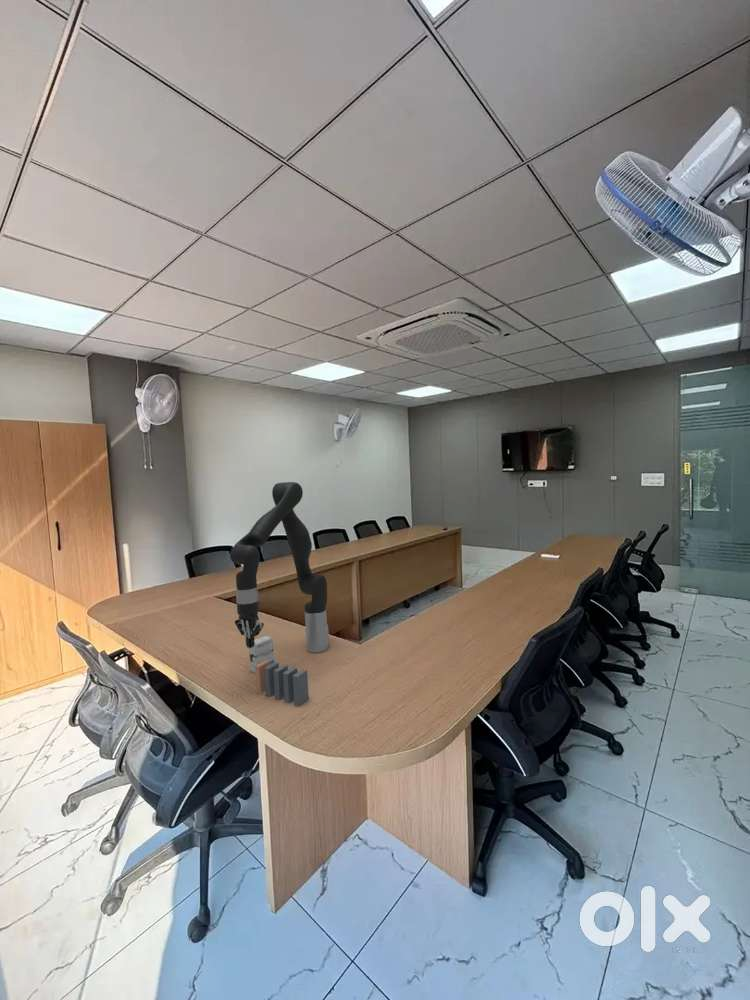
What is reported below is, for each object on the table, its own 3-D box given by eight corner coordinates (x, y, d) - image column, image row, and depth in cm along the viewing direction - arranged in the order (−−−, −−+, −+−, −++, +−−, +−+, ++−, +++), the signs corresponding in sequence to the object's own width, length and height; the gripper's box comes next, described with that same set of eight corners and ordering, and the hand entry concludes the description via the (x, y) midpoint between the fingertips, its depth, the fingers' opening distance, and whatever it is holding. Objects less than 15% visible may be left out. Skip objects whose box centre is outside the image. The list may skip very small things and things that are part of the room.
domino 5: (294, 704, 136) (292, 675, 135) (304, 697, 140) (302, 669, 140) (299, 706, 135) (297, 677, 134) (308, 698, 139) (307, 670, 139)
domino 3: (275, 698, 140) (273, 670, 140) (285, 691, 145) (283, 664, 144) (279, 700, 139) (277, 671, 139) (289, 693, 144) (287, 665, 143)
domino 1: (271, 687, 148) (269, 660, 147) (260, 694, 143) (258, 666, 143) (267, 686, 149) (265, 659, 148) (256, 693, 144) (254, 665, 144)
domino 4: (284, 701, 138) (282, 673, 137) (294, 694, 142) (292, 666, 142) (289, 703, 137) (287, 674, 136) (298, 695, 141) (297, 667, 141)
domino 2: (266, 695, 142) (264, 668, 142) (276, 689, 147) (274, 662, 146) (270, 697, 141) (268, 669, 141) (280, 690, 146) (278, 663, 145)
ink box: (267, 662, 168) (265, 634, 167) (275, 665, 165) (273, 637, 164) (249, 671, 161) (247, 642, 161) (256, 674, 158) (255, 645, 157)
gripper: (268, 599, 147) (271, 646, 148) (242, 595, 153) (245, 640, 154) (252, 605, 140) (255, 654, 141) (226, 600, 147) (229, 647, 148)
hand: (250, 646), depth 148 cm, fingers closed
